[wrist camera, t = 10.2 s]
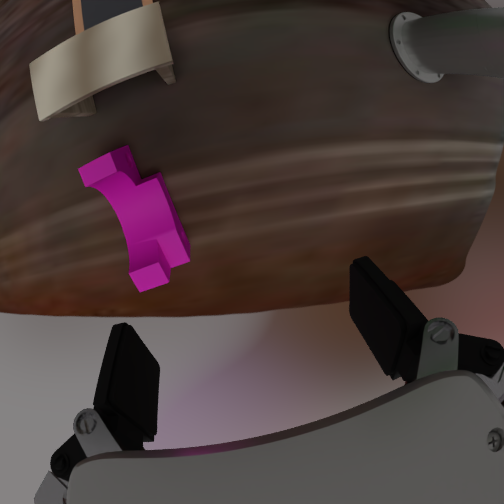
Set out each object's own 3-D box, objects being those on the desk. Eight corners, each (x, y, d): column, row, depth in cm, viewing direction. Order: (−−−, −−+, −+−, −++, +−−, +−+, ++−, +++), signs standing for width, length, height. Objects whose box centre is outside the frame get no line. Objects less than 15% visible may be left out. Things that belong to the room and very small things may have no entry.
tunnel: (169, 38, 22) (158, 1, 12) (180, 81, 25) (172, 60, 15) (76, 76, 21) (29, 64, 12) (86, 117, 24) (39, 121, 15)
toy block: (190, 244, 35) (190, 275, 29) (148, 259, 35) (139, 292, 28) (147, 136, 28) (133, 141, 21) (102, 157, 27) (78, 169, 21)
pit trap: (145, -32, 16) (145, -34, 15) (158, 27, 21) (157, 26, 21) (73, -2, 15) (71, -3, 15) (81, 59, 20) (79, 58, 20)
